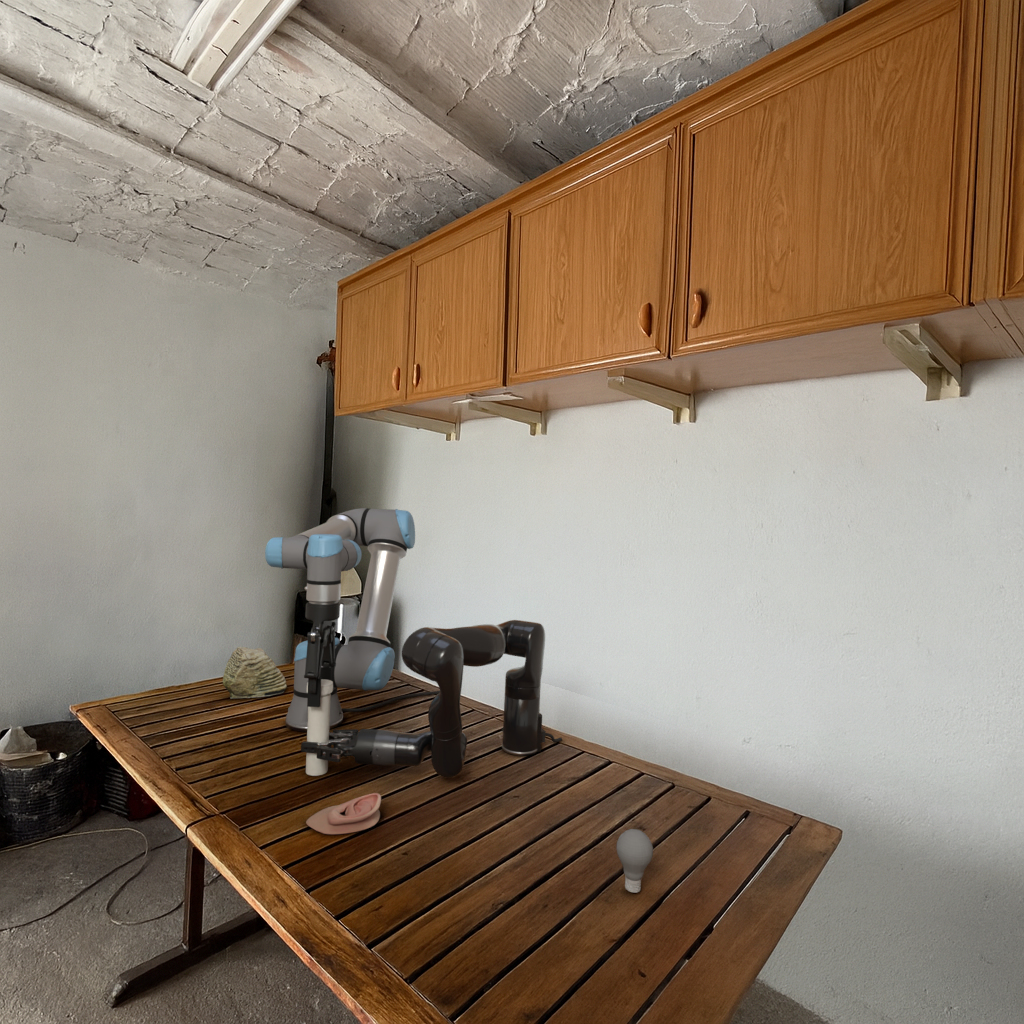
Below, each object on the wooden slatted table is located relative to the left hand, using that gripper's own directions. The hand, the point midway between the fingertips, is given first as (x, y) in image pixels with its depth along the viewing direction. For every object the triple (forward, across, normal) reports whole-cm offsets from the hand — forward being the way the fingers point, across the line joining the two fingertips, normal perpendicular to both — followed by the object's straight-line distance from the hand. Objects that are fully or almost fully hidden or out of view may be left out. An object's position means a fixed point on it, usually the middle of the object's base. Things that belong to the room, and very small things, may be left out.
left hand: (319, 700), depth 146 cm
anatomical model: (+16, +22, +12) cm, 30 cm away
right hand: (+10, 0, -3) cm, 10 cm away
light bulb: (+16, +40, +65) cm, 78 cm away
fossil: (+16, -52, -36) cm, 65 cm away
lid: (-4, 0, 0) cm, 4 cm away
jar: (+16, 0, 0) cm, 16 cm away
